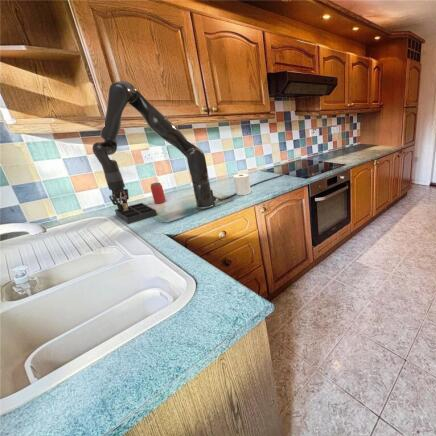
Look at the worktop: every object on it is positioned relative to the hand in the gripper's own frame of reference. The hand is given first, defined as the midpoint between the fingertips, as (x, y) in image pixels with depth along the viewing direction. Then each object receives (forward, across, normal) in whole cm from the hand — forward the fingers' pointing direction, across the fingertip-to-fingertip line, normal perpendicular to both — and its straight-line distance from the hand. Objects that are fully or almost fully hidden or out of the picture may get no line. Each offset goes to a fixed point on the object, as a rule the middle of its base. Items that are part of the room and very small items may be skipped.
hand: (124, 209), depth 146 cm
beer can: (+3, +19, -12) cm, 22 cm away
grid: (+3, -2, -7) cm, 8 cm away
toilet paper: (+3, +28, -63) cm, 69 cm away
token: (0, 0, 0) cm, 0 cm away
